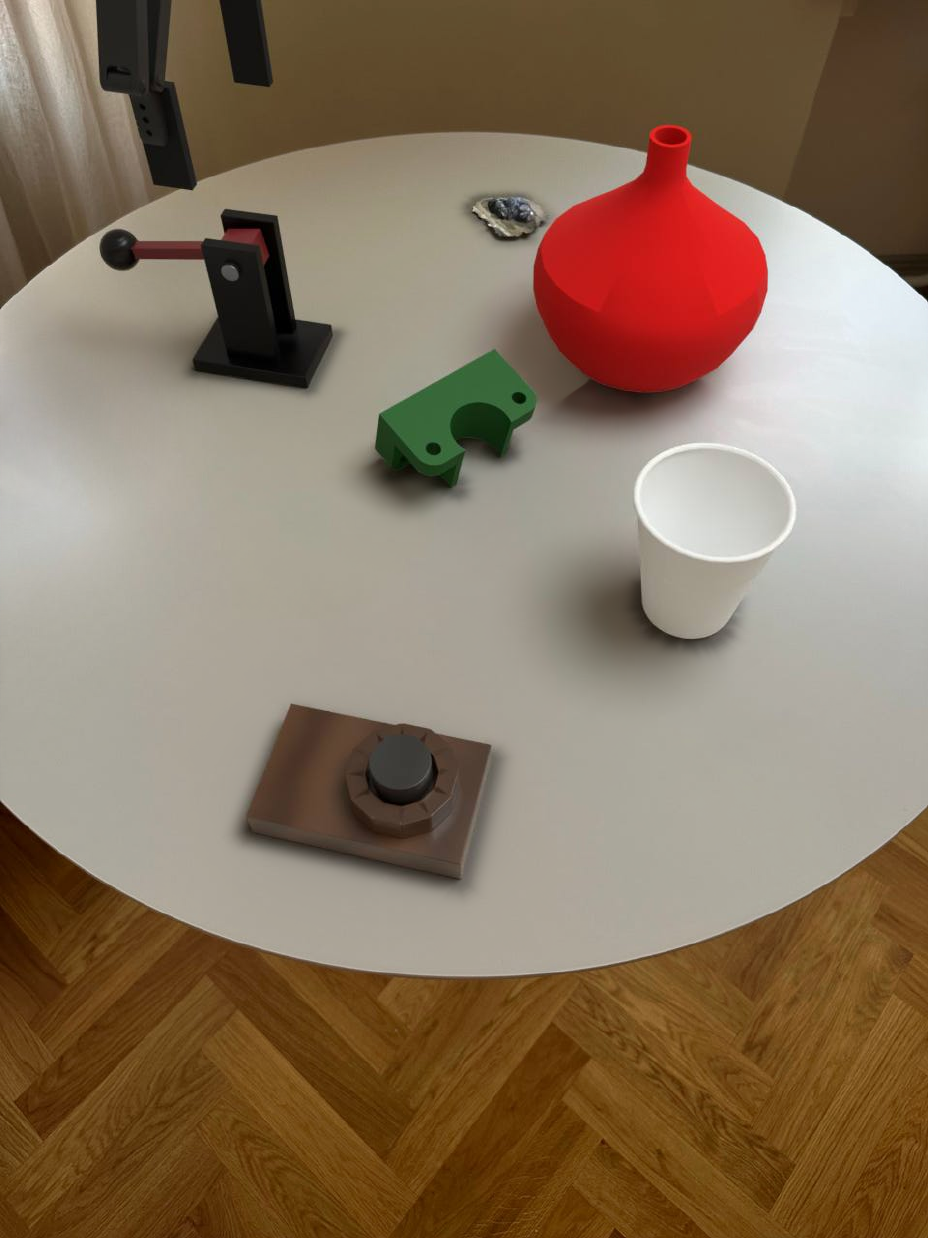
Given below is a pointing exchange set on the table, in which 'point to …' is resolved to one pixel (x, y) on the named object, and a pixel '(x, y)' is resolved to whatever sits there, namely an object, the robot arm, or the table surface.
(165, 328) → the table surface
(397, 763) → the button
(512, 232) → the grey flat irregular piece
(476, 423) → the clamp
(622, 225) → the vase
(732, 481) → the cup
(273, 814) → the button block
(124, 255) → the ball knob lever
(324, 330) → the black bracket
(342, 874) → the table surface
